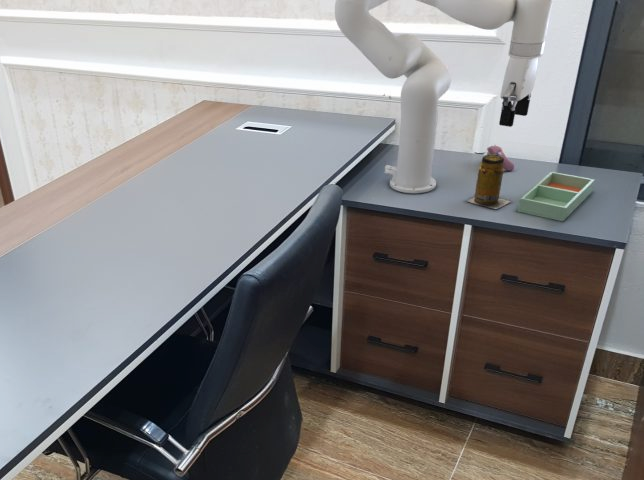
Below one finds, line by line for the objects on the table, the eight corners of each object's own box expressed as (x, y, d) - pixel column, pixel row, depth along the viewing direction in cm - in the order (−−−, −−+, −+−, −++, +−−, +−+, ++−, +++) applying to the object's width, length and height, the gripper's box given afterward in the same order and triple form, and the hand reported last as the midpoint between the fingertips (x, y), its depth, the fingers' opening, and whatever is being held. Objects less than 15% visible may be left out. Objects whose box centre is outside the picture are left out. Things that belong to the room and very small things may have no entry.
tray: (517, 211, 185) (520, 198, 183) (548, 183, 198) (551, 171, 196) (563, 221, 179) (566, 208, 177) (591, 192, 192) (595, 179, 190)
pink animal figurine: (489, 165, 216) (482, 145, 213) (504, 157, 215) (497, 137, 212) (500, 177, 208) (492, 157, 205) (516, 169, 207) (508, 149, 203)
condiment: (482, 193, 196) (489, 151, 189) (510, 202, 190) (519, 158, 183) (466, 202, 192) (473, 158, 185) (495, 210, 186) (503, 166, 180)
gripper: (523, 39, 178) (511, 109, 188) (496, 55, 168) (484, 127, 177) (554, 42, 174) (540, 113, 184) (529, 58, 164) (515, 132, 173)
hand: (513, 120), depth 181 cm, fingers open, 9 cm apart
